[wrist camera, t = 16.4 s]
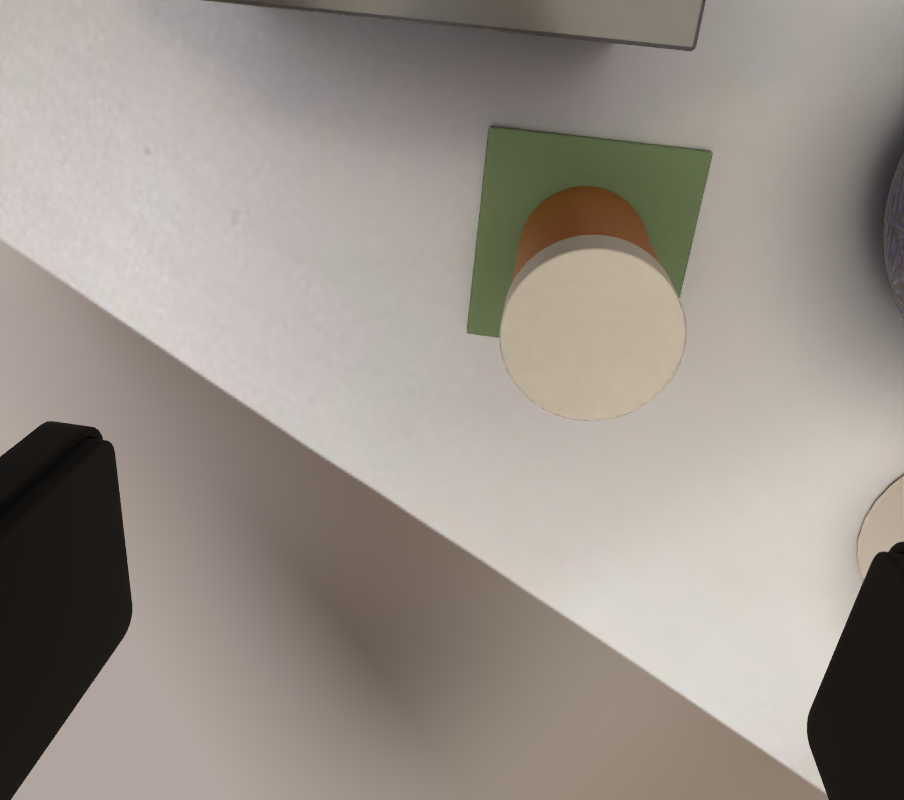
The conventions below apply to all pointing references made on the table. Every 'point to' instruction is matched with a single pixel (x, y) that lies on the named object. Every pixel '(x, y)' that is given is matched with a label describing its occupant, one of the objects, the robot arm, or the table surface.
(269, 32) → the table surface
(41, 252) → the table surface
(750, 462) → the table surface
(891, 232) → the planter
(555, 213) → the medicine bottle
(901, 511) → the cup
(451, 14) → the metal storage bin
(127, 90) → the table surface
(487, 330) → the mat
